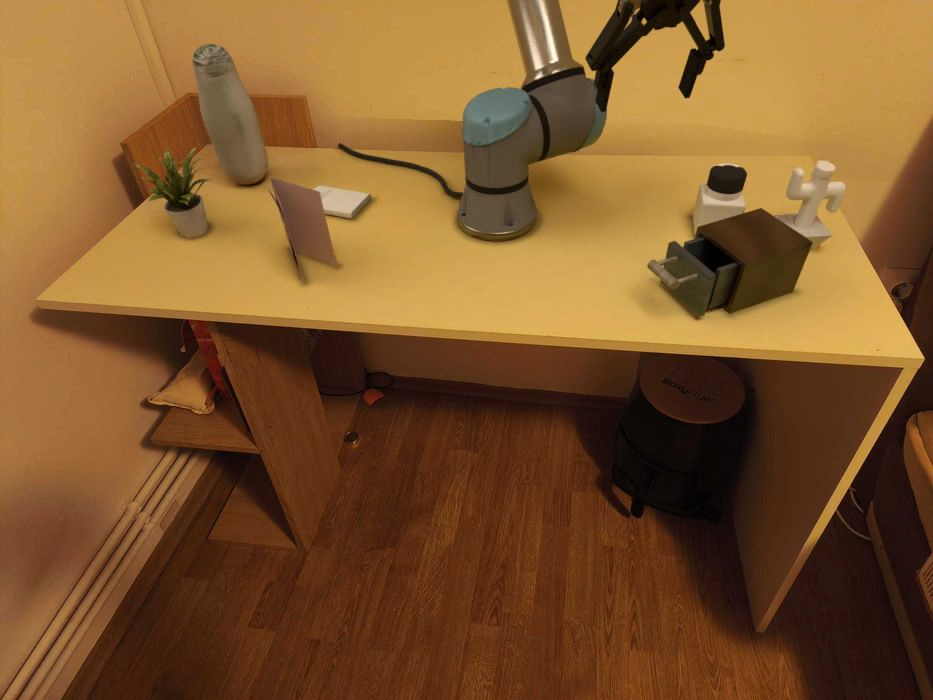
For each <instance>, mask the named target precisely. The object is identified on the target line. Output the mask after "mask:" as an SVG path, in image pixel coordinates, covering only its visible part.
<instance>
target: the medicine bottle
mask: <svg viewBox="0 0 933 700" xmlns="http://www.w3.org/2000/svg"><path fill="white" fill-rule="evenodd" d="M747 177H748V172H747V170H746V169H745V167H742V166H741V165H738V164H735V163H732V162H723V163H717V164H714V165H713V166H712V167H711V168H710V170H709V174H708V177H707V182H706V183H701V184H699V187H698V192H697V195H696V199H695V205H694V209H693V213H692V223H693V231H694V236H695V235H696V231H697V227H699V226H702V225H706V224H709V223H712V222H716V221H719V220H722V219H726V218H729V217H732V216H736V215H739V214H743V213H745V210H746V207H747V206H746V201H745V196H744V193H743V190H744V187H745V183H746V180H747Z"/></svg>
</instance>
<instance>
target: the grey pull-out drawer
mask: <svg viewBox="0 0 933 700" xmlns="http://www.w3.org/2000/svg"><path fill="white" fill-rule="evenodd" d="M665 253H666V254H665V258H664V259H662V260H658V261H657V260H656V259H651V260H649V261H648V263H647V265H646V267H647V269H648V270H650V272H651V273H652V274H654V275H655V276H656V277H657V278H658V279H659V280H660V281H659V283H660V284H662V286H664V287H665V288H666V289H667V290H668V291H669V292H670V293H671V294H672V295H674V296H675V298H676V299H678V300H679V301H680V302H681V303H682V304H683V305H684V306H685V307H686V308H688V310H689V311H691V312H692V313H693V314H694V315H695V317H697V318H701V317H703V316H706V312H707V308H708V309H712V308H716V307H718V306H720V305H722V304H725V303H728V302H729V301H730V298H731V294H732V291H733V288H734V285H735V282H736V279H737V276H738V273H739V270H740V266H741V265H740V264H739V263H737V262H736V261H735V260H733V259H732V258H731V257H730V256H728V255H727V254H726V253H724V252H723V251H722V250H721V249H719V248H718V247H717V246H715V245H714V244H713V243H712V242H710V241H709V240H708V239H706V238H705V237H704V236H702V237H699V238H696V239H695V238H693V239H689V240H687V241H684V242H683V245H681V244H680V243H679V242H677V241H676V240H673V241H670V242H668V243H667V249H666V252H665Z"/></svg>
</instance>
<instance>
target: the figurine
mask: <svg viewBox="0 0 933 700" xmlns="http://www.w3.org/2000/svg"><path fill="white" fill-rule="evenodd" d="M805 171H806V170H804V168H802V167H795V168H794V169H793V171H792V173H791V175H790V179H789V181H788V184H787V187H786V192H785V196H786V198H787V200H789V201H802V202H801V204H800V207H799V209H798V212H797V213H786V214H773V216H774V217H776V218H777V219H779V220H780V221H782V222H783V223H785V224H786V225H788V226H789V227H791V228H792V229H794V230H795V231H797V232H798V233H800V234H801V235H803V236H804V237H806V238H807V239H809V240H810V241H812V242H813V244H812V246H811V249H810V250H814V249H816V248H817V247H818V246H820V245H822V244H823V243H824V242H826V241H827V240H828V239H830V238H832V237H833V236H834V235H833V233H832V232H831V231H830V229H829V228H827V226H826V224H824V222H823V221H822V220H821V219H820V218H819V217H818V215H817V213H818V211H819V207H820V205H821V203H822V201H823V200H827V199H828V200H827V203H826V205H825V210H827V212H829V213H831V214H834V213H837V212H838V211H839V208H840V206H841V204H842V201H843V199H844V196H845V193H846V189H847V186H846V183H844V182H843V181H830V180H831V178H832V177H833V175H834V172H835V171H836V166H835V164H834V163H831V162H830V161H829V160H825V159H824V160H817V161H816V163H815V164H814V168H813V170H812V172H810V175H809V176H810V179H809V181H808V182H803V181H804V178H805V176H806V172H805Z"/></svg>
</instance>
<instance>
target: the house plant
mask: <svg viewBox="0 0 933 700" xmlns="http://www.w3.org/2000/svg"><path fill="white" fill-rule="evenodd" d="M197 147H198V145H197V146H194V147H193V148H192V149H191V150H190V151H189V152H188V154H187V156H186V158H183V160H181V161H179V162H178V164H177V163H176V160H175V158H174V156H173V154H172V153H171V151H170V150H169V149H168V148H167V147H166V148H165V150H164V153H163V159H162V158H161V157H160V156H158V155H155V157H156V158H157V159H158V161H159V162H160V163H161V165H162V166H163V168H164V169H165V172H166V175H165V176H164V180H163V179H162V178H161V177H160V176H159V175H158V174H157V173H155V172H154V171H153V170H152V169H150V168H148V167H145V166H142V165H140V164H138V163H132V162H131V164H130V165H133V166H135V167H137V168H138V169H140V170H141V171H143V172H144V173H145V174H146V175H148V176H149V178H151V179H149V178H147V177H142V176H139V177H138V178H139V179H142V180H145V181H147V182H149V183H151V184H153V185H154V186H155V188H150V189H148V192H149V193H151V194H153V195H150V197H149V198H148V201H147V203H149V202H151V201H156V200H159V199H165V200H166V202H165V203H164V206H163V208H164V209H163V210H164V211H165V212H166V214H167V215H168V217H169V218H170V220H171V221H172V223H173V224H174V225H175V227H176V229H177V231H178V232H179V234H180V235H181V236H182V237H184V238H187V239H194V238H198V237H202V236H203V235H205V234H206V233H207V232H208V230H209V225H208V220H207V215H206V210H205V204H204V199H203V197H202V196H201V195H200V194H197V193H198V191H199V190H200V188H201V187H202V186H203V185H204V184H205V183H206V182H210V183H211V182H212V181H211V180H213V179H214V177H209V178H200V179H197V180H195V181H194V182H192V181H193V180H194V177H195V175H196V173H197V172H198V171H200V170H204V169H205V167H199V168H196V169H195V167H196V166H195V165H196V164H197V162H199V161H201V160H202V159H205V158H208V157H209V155H204V156H200V157H198V158H196V159H194V161H192V160H193V158H194V157H195V155H196V153H194V152H195V151H196V149H197ZM191 162H192V163H191ZM182 163H183V166H182V168H181V169H182V171H181V173H179V170H178V167H179V166H180V165H181V164H182ZM194 169H195V170H194ZM193 170H194V171H193ZM197 184H200V185H199V186H198V188H197V189H196V191H195V192H192V190H193V189H194V187H195V186H196V185H197Z"/></svg>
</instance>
